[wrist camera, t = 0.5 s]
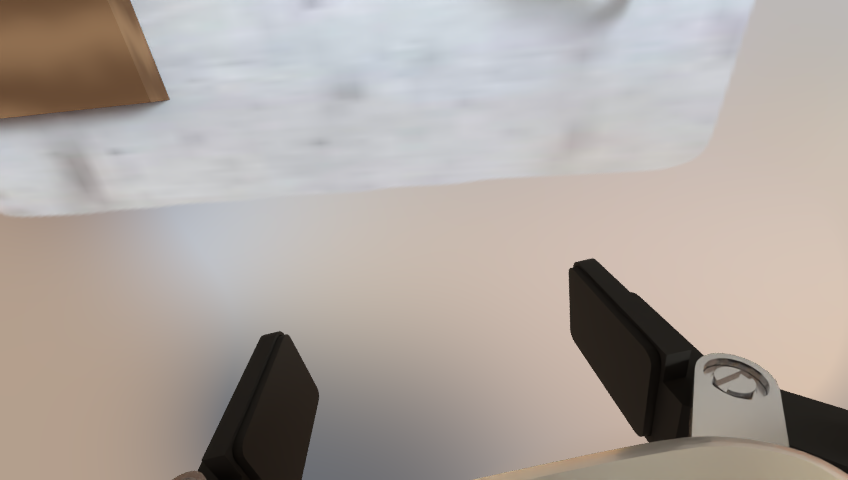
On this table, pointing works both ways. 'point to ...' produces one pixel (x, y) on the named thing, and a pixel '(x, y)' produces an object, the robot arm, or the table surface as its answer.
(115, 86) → the walnut plinth
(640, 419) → the robot arm
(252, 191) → the table surface
